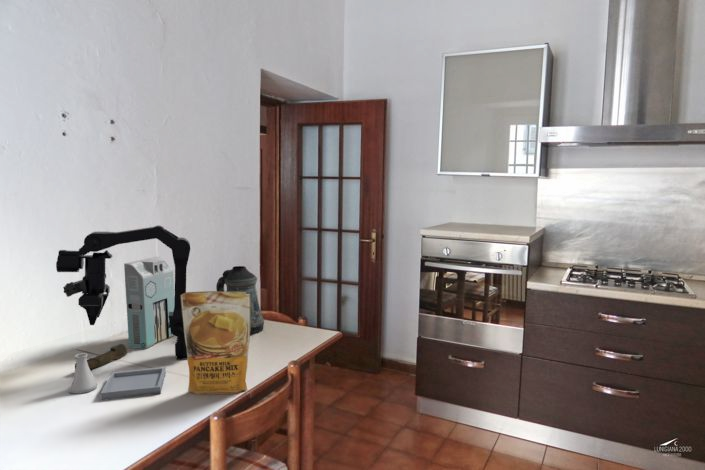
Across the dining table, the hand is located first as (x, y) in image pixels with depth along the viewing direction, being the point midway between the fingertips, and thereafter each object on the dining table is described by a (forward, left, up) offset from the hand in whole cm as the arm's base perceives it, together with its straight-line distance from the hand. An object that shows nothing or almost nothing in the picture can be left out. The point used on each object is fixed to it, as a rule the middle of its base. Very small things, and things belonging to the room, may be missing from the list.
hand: (94, 321), depth 159 cm
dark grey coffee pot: (-45, -27, -15) cm, 55 cm away
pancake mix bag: (-37, +29, -15) cm, 50 cm away
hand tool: (-1, -2, -15) cm, 15 cm away
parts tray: (-14, +20, -15) cm, 29 cm away
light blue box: (-14, -22, -15) cm, 30 cm away
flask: (0, +18, -15) cm, 24 cm away
